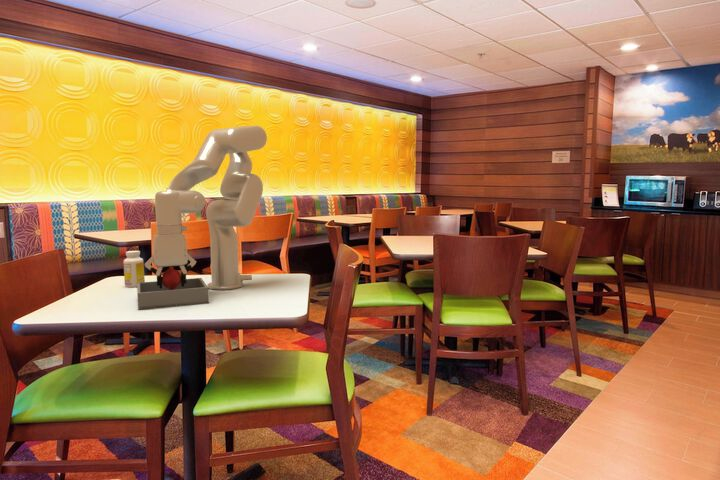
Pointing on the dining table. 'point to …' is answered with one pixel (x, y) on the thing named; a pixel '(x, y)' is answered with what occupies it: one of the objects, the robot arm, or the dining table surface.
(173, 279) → the onion
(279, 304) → the dining table surface
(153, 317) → the dining table surface
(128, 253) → the supplement bottle
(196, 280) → the bin
